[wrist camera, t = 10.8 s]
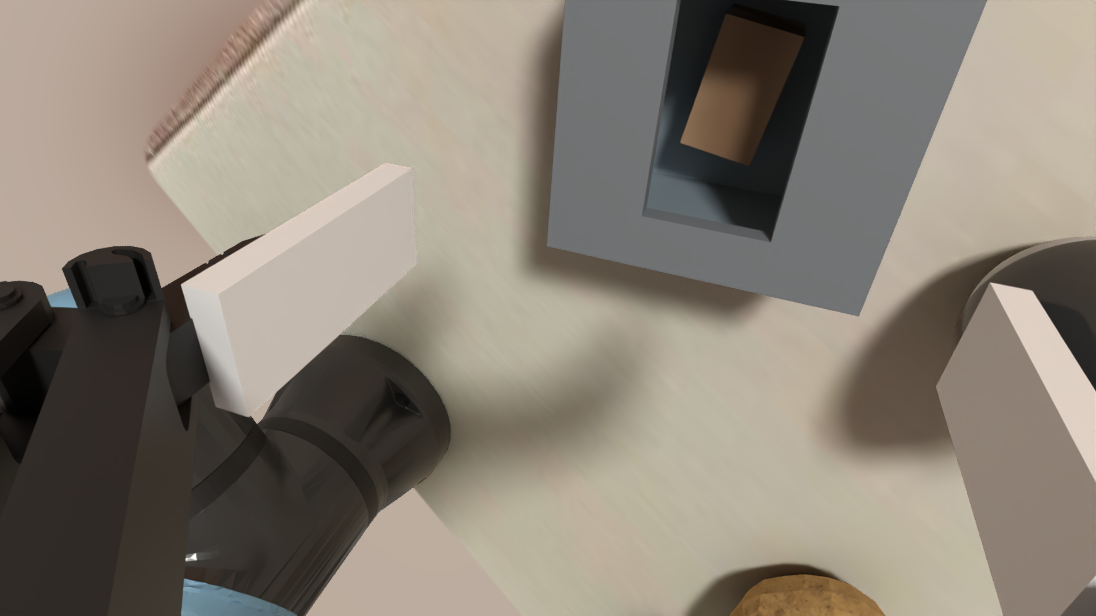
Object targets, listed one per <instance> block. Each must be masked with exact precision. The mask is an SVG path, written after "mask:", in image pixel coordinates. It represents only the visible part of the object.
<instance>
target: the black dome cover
mask: <svg viewBox="0 0 1096 616" xmlns="http://www.w3.org/2000/svg"><path fill="white" fill-rule="evenodd" d="M990 282H991V283H996V284H1001V285H1006V286H1011V287H1016V288H1021V289H1026V290H1031V291H1033V293H1034V294H1035V296H1036V297H1037V299H1038V301H1039V302H1040V304H1041V305H1042V307H1043V309H1044V310H1045V312H1046V313H1047V315H1048V317H1049V318H1050V320H1051V321H1052V323H1053V324H1054V326H1055V328H1056V329H1057V331H1058V332H1059V334H1060V336H1061V337H1062V339H1063V340H1064V342H1065V343H1066V345H1067V347H1068V348H1069V350H1070V351H1071V353H1072V355H1073V356H1074V358H1075V359H1076V361H1077V363H1078V364H1079V366H1080V367H1081V369H1082V370H1083V372H1084V374H1085V375H1086V377H1087V378H1088V380H1089V382H1090V383H1091V385H1092V386H1093V388H1094V390H1095V391H1096V237H1075V238H1066V239H1060V240H1054V241H1050V242H1046V243H1042V244H1039V245H1036V246H1033V247H1030V248H1028V249H1025V250H1023V251H1021V252H1019V253H1017V254H1015V255H1013V256H1011V257H1010V258H1008V259H1006V260H1005V261H1003V262H1002V263H1000V264H999V265H998V266H996V267H995V268H994V269H993V270H991V271H990V272H989V273H988V274H987V275H986V276H985V277H984V278H983V279H982V280H981V281H980V283H979V284H978V285H977V287H976V288H975V289H974V291H973V292H972V294H971V296H970V297H969V299H968V301H967V303H966V304H965V306H964V308H963V309H962V311H961V313H960V316H959V318H958V321H957V324H956V327H955V332H954V351H955V349H956V347H957V345H958V343H959V341H960V339H961V337H962V335H963V333H964V332H965V330H966V328H967V326H968V324H969V322H970V320H971V318H972V316H973V314H974V312H975V310H976V309H977V307H978V305H979V303H980V301H981V299H982V297H983V295H984V293H985V291H986V289H987V287H988V285H989V284H990Z"/></svg>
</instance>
